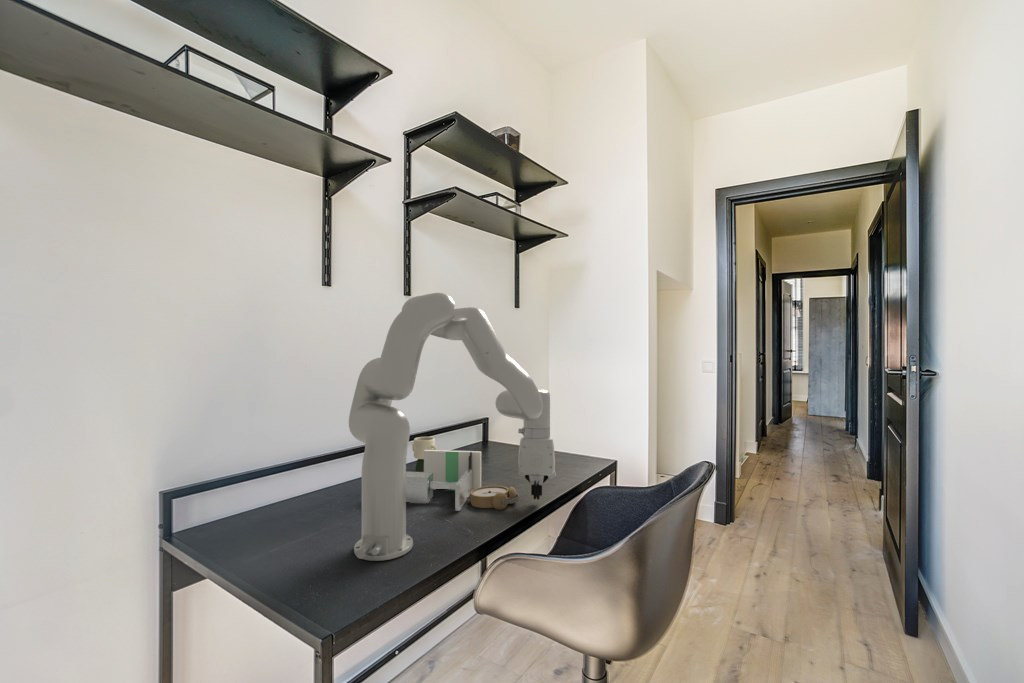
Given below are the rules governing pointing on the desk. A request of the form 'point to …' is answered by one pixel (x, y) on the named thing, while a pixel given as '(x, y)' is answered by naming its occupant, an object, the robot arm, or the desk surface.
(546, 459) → the robot arm
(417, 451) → the character mug
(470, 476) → the grey t-shaped piece
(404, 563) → the desk surface
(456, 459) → the board
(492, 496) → the alarm clock
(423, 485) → the block
